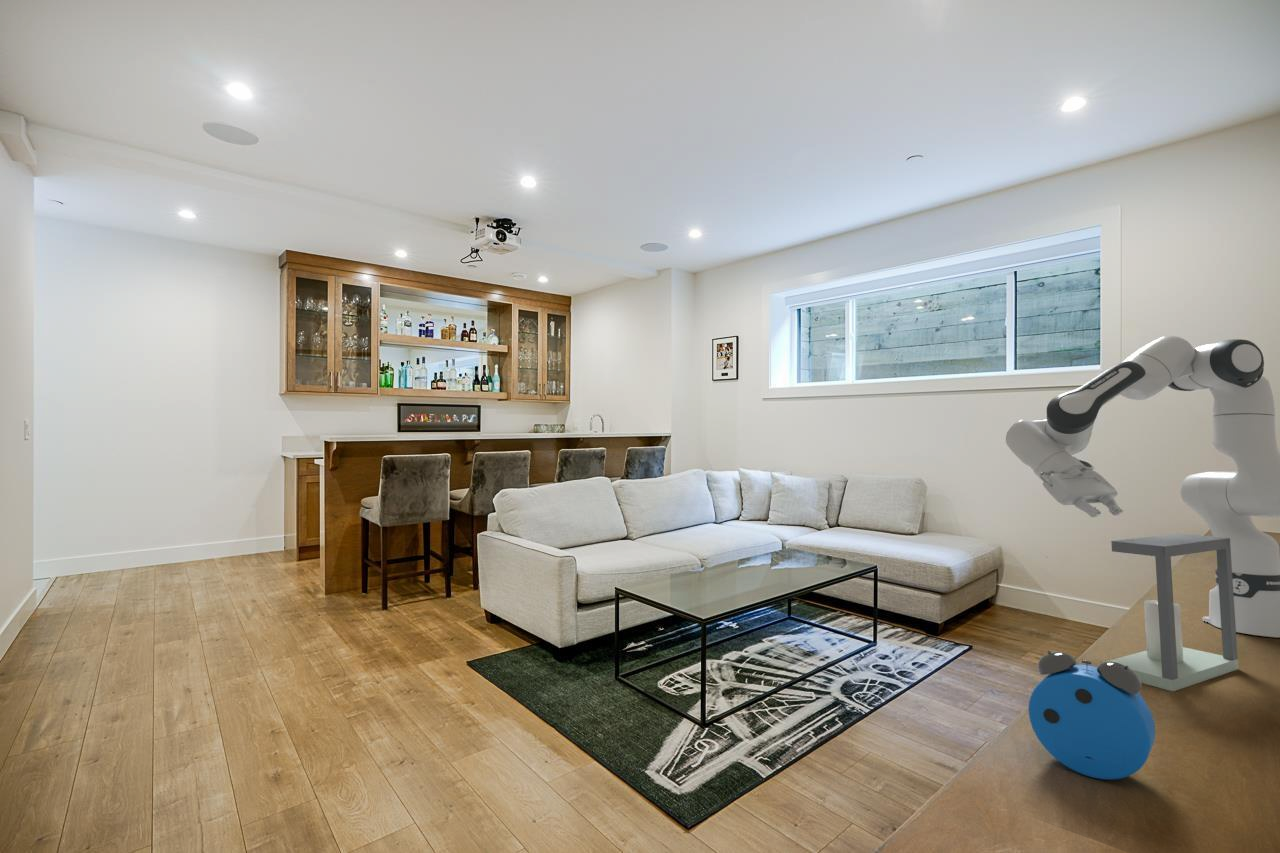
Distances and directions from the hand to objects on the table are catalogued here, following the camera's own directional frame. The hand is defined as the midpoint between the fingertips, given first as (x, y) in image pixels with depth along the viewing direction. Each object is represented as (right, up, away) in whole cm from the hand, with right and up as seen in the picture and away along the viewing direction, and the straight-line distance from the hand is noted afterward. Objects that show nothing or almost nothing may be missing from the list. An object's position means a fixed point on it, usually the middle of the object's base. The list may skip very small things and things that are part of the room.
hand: (1108, 514), depth 138 cm
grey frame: (-3, -28, -20) cm, 35 cm away
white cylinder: (-3, -26, -19) cm, 32 cm away
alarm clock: (-48, -26, -58) cm, 80 cm away
